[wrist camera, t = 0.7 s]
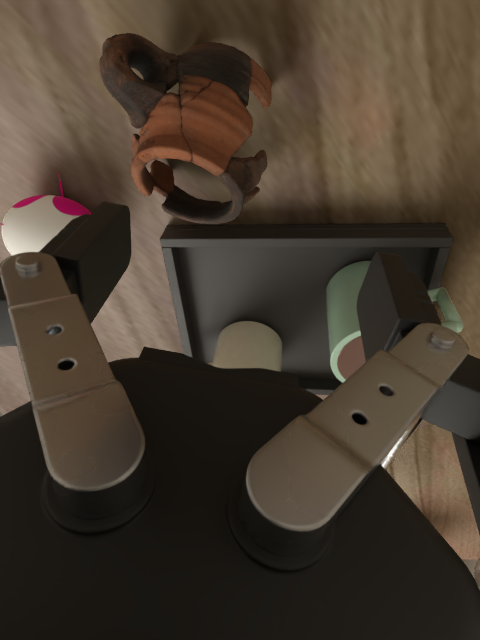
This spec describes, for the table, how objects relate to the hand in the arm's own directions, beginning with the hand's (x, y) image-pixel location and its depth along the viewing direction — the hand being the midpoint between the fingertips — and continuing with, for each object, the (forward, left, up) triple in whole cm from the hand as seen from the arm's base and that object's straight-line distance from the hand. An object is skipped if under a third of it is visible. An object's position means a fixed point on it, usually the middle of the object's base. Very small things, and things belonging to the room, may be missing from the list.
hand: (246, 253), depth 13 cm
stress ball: (+7, -17, -18) cm, 26 cm away
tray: (+17, +2, -18) cm, 25 cm away
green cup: (+13, +9, -17) cm, 23 cm away
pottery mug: (0, -5, -18) cm, 19 cm away
